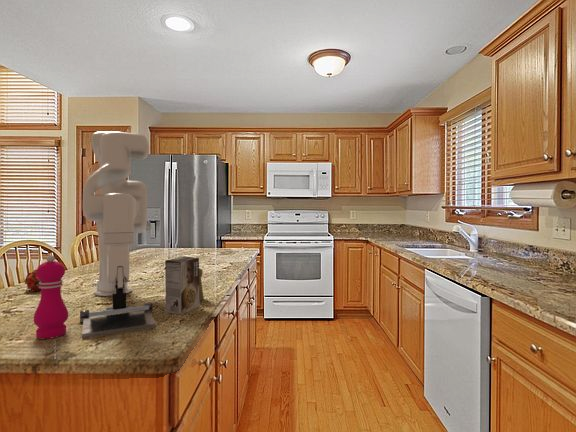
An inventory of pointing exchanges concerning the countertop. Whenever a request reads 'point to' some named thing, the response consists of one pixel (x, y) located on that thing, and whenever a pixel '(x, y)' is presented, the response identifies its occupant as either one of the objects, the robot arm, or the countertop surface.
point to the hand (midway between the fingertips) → (119, 308)
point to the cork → (200, 286)
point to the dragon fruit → (32, 281)
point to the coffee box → (182, 284)
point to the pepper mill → (50, 300)
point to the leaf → (118, 310)
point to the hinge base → (116, 322)
